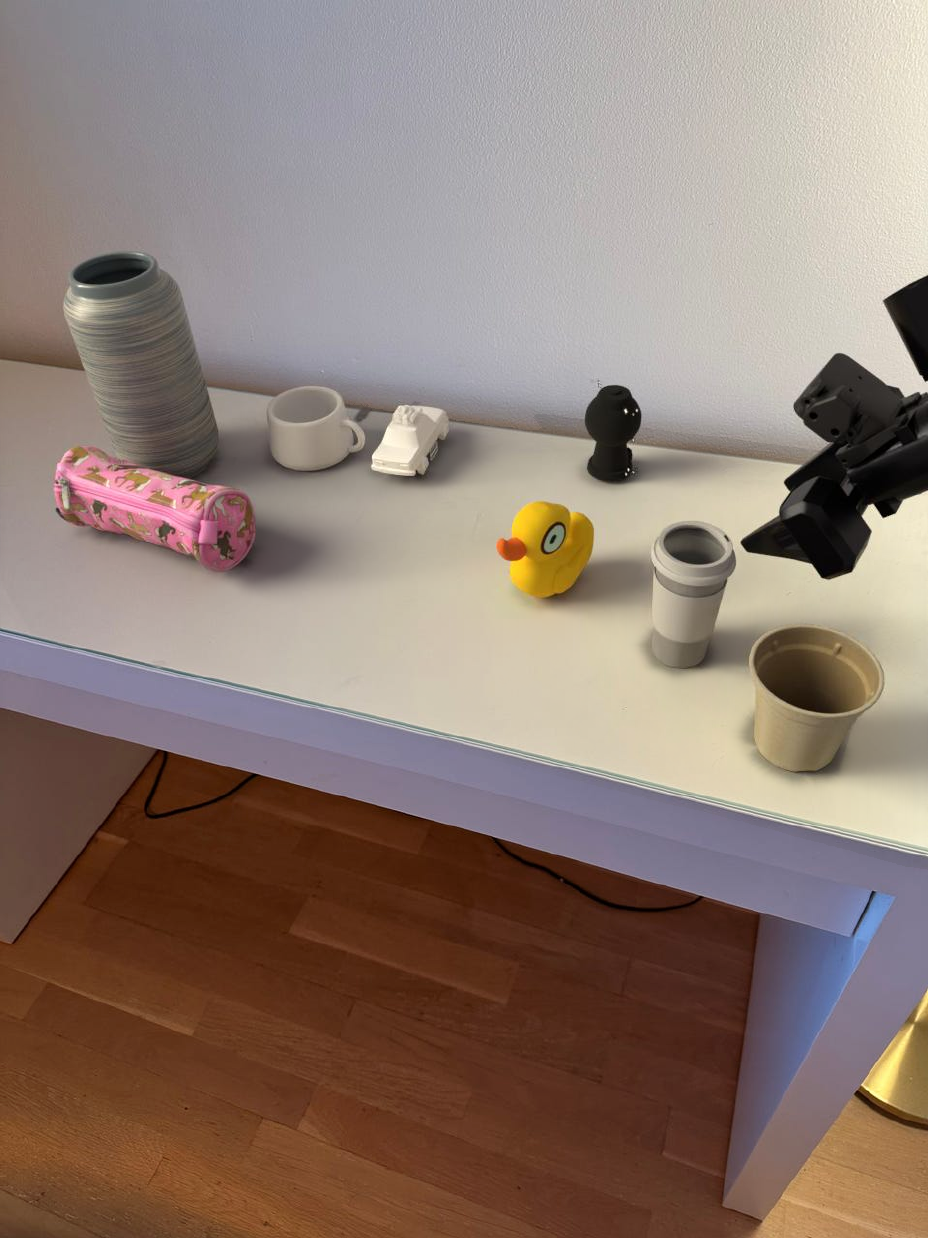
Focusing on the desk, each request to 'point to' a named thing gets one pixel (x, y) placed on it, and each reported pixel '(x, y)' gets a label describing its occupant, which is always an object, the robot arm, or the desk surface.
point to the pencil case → (155, 507)
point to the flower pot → (810, 692)
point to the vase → (142, 362)
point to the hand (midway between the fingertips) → (766, 514)
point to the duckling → (547, 548)
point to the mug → (311, 429)
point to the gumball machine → (612, 432)
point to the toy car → (410, 440)
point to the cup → (688, 589)
